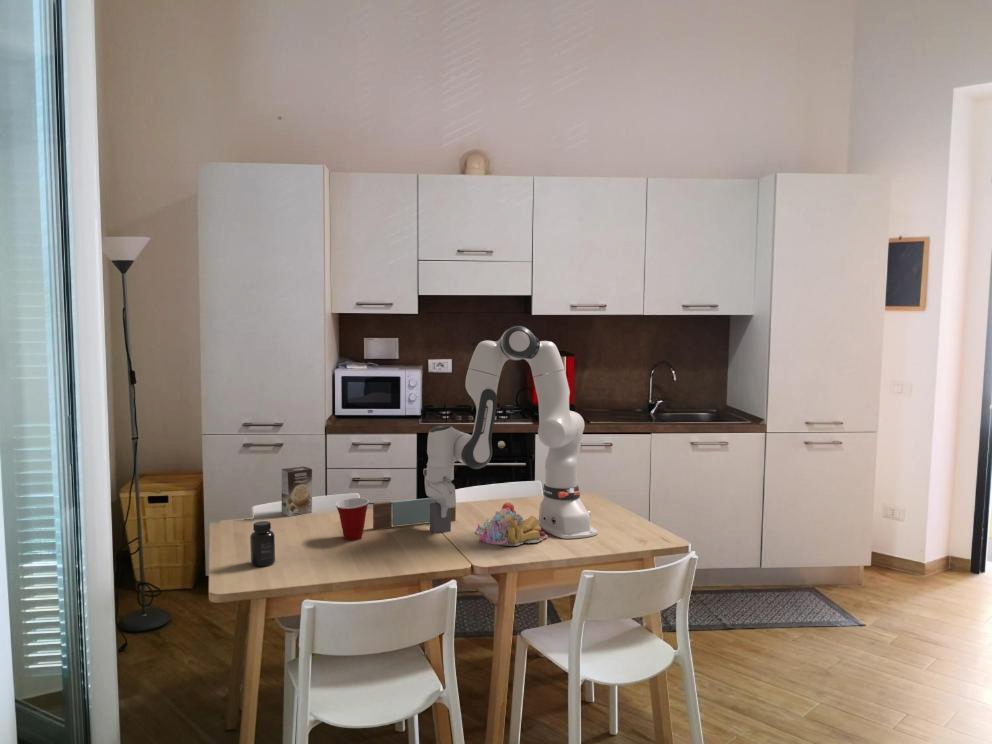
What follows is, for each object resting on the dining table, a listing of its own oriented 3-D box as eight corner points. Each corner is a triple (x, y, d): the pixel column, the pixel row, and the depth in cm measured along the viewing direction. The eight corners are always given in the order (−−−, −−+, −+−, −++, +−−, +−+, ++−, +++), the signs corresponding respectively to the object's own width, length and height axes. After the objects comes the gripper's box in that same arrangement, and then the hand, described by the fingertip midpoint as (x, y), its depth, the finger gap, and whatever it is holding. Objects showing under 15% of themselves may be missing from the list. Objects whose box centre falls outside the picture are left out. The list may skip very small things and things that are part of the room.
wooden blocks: (455, 520, 280) (455, 496, 280) (374, 529, 269) (374, 504, 268) (453, 519, 282) (454, 495, 281) (373, 528, 270) (373, 503, 269)
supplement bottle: (277, 559, 237) (277, 519, 236) (272, 567, 230) (271, 526, 229) (254, 559, 237) (253, 519, 236) (247, 567, 230) (247, 526, 229)
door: (440, 520, 278) (440, 497, 278) (393, 526, 272) (393, 502, 271) (439, 520, 279) (439, 497, 279) (392, 525, 272) (392, 501, 272)
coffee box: (289, 516, 283) (288, 472, 282) (281, 513, 288) (280, 468, 287) (312, 512, 289) (312, 468, 288) (304, 509, 294) (304, 465, 292)
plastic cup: (332, 534, 262) (331, 498, 261) (365, 531, 266) (364, 495, 265) (338, 544, 252) (338, 506, 251) (372, 540, 256) (372, 503, 255)
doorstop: (450, 531, 268) (450, 504, 267) (433, 533, 265) (433, 506, 264) (446, 528, 271) (446, 501, 271) (429, 529, 269) (429, 503, 268)
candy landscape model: (561, 537, 263) (562, 509, 262) (511, 553, 247) (512, 523, 246) (507, 522, 281) (507, 496, 280) (457, 535, 264) (457, 507, 263)
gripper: (460, 479, 258) (460, 521, 260) (439, 467, 277) (438, 506, 278) (442, 481, 256) (442, 524, 257) (421, 468, 274) (421, 508, 276)
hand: (440, 514), depth 268 cm, fingers closed on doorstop, 4 cm apart
